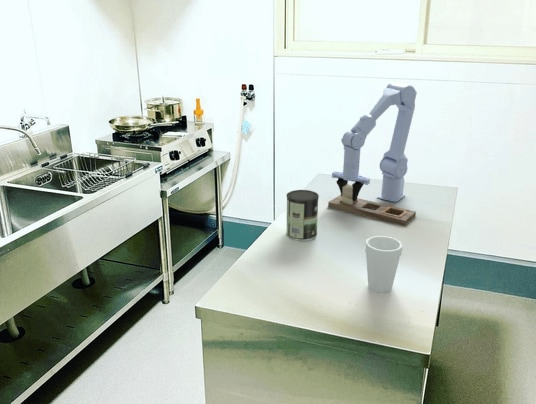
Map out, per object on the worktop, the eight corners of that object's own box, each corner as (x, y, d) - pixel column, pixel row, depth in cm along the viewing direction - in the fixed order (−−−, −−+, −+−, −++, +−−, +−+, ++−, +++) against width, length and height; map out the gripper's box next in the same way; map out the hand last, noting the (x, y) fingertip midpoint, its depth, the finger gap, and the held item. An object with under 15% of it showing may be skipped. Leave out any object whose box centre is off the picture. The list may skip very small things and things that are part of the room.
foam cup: (373, 274, 150) (376, 232, 145) (403, 285, 144) (408, 242, 139) (356, 287, 143) (359, 244, 138) (387, 299, 137) (391, 254, 133)
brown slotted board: (340, 199, 205) (341, 193, 205) (415, 216, 189) (416, 211, 188) (328, 206, 198) (328, 201, 197) (404, 225, 182) (405, 220, 181)
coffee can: (316, 228, 179) (317, 189, 174) (318, 241, 170) (319, 200, 164) (285, 228, 179) (286, 189, 174) (285, 241, 170) (286, 200, 165)
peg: (346, 203, 201) (347, 183, 198) (356, 205, 199) (357, 185, 196) (341, 206, 198) (342, 186, 195) (351, 209, 196) (352, 188, 193)
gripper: (328, 163, 193) (326, 198, 198) (364, 170, 185) (362, 206, 190) (337, 158, 199) (335, 192, 203) (373, 165, 191) (370, 200, 196)
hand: (349, 199), depth 197 cm, fingers closed on peg, 4 cm apart
